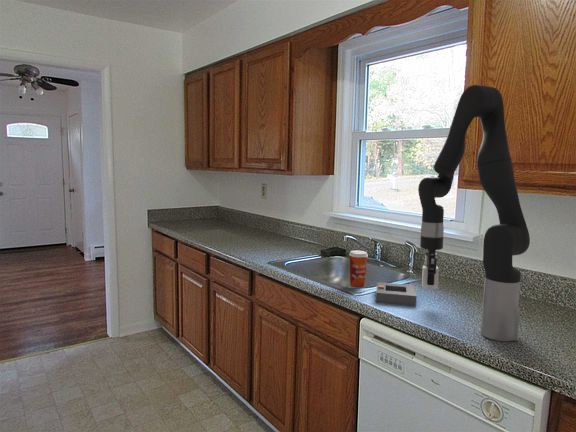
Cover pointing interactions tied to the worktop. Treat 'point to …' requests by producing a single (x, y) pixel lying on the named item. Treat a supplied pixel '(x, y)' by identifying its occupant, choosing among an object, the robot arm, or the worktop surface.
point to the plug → (424, 278)
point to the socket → (396, 293)
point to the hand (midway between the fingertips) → (429, 283)
